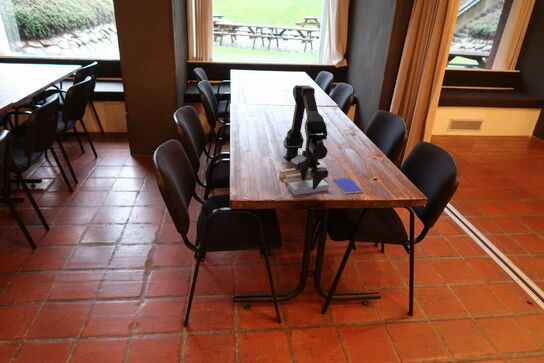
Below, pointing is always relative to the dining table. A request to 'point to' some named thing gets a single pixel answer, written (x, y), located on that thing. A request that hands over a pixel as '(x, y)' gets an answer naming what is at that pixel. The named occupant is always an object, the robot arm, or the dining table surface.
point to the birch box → (295, 175)
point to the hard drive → (347, 185)
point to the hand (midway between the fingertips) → (308, 184)
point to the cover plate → (306, 187)
